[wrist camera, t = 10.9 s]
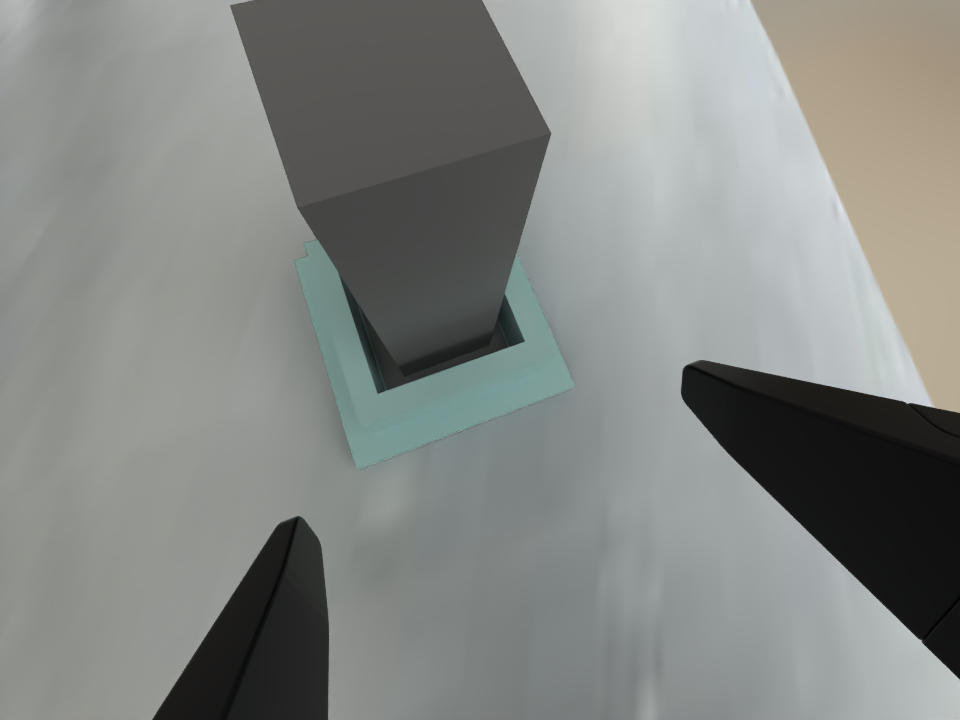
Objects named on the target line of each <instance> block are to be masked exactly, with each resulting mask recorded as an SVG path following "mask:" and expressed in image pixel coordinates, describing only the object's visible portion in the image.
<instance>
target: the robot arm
mask: <svg viewBox="0 0 960 720" xmlns="http://www.w3.org/2000/svg"><path fill="white" fill-rule="evenodd" d="M681 395H682V398H683V400H684V402H685V403H686V405H687V406H688V407H689V408H690V409H691V411H692V412H693V413H694V414H695V415H696V417H697V418H698V419H699V420H700V421H701V422H702V424H703V425H704V426H705V427H706V428H707V430H708V431H709V432H710V433H711V434H712V435H713V437H714V438H715V439H716V440H717V441H718V443H719V444H720V445H721V446H722V447H723V448H724V449H725V450H726V452H727V453H728V454H729V455H730V456H731V457H732V458H733V459H734V460H735V461H736V462H737V463H738V464H739V465H740V466H741V467H742V468H743V469H744V470H746V471H747V472H748V473H749V474H750V475H751V476H752V477H753V478H754V479H755V480H756V481H757V482H758V483H759V484H760V485H761V486H762V487H763V488H764V489H765V490H766V491H767V492H768V493H769V494H770V495H771V496H772V497H773V498H774V499H775V500H776V501H777V502H778V503H779V504H780V505H781V506H782V507H784V508H785V509H786V510H787V511H788V512H789V513H790V514H791V515H792V516H793V517H794V518H795V519H796V520H797V521H798V522H799V523H800V524H801V525H802V526H803V527H804V528H805V529H806V530H807V531H808V532H809V533H810V534H811V535H812V536H813V537H814V538H815V539H816V540H817V541H818V542H819V543H821V544H822V545H823V546H824V547H825V548H826V549H827V550H828V551H829V552H830V553H831V554H832V555H833V556H834V557H835V558H836V559H837V560H838V561H839V562H840V563H841V564H842V565H843V566H844V567H845V568H846V569H847V570H848V571H849V572H850V573H851V574H852V575H853V576H854V577H855V578H856V579H858V580H859V581H860V582H861V583H862V584H863V585H864V586H865V587H866V588H867V589H868V590H869V591H870V592H871V593H872V594H873V595H874V596H875V597H876V598H877V599H878V600H879V601H880V602H881V603H882V604H883V605H884V606H885V607H886V608H887V609H888V610H889V611H890V612H891V613H892V614H893V615H894V616H896V617H897V618H898V619H899V620H900V621H901V622H902V623H903V624H904V625H905V626H906V627H907V628H908V629H909V630H910V631H911V632H912V633H913V634H914V635H915V636H916V637H917V638H918V639H920V640H922V643H923V644H924V645H925V646H926V647H927V648H928V649H929V650H930V651H931V652H932V653H933V654H934V655H935V656H936V657H937V658H938V659H939V660H940V661H941V662H942V663H943V664H944V665H945V666H947V667H948V668H949V669H950V670H951V671H952V672H953V673H954V674H955V675H956V676H957V677H958V678H959V679H960V413H957V412H951V411H947V410H941V409H937V408H932V407H927V406H922V405H918V404H913V403H909V404H907V403H905V402H903V401H898V400H893V399H888V398H884V397H879V396H874V395H869V394H864V393H859V392H855V391H850V390H845V389H840V388H835V387H831V386H826V385H821V384H816V383H811V382H806V381H802V380H797V379H792V378H787V377H782V376H777V375H773V374H768V373H763V372H758V371H753V370H749V369H744V368H739V367H734V366H729V365H724V364H720V363H715V362H710V361H705V360H699V361H696V362H693V363H691V364H688V365H686V366H685V367H684V369H683V373H682V385H681ZM328 672H329V621H328V608H327V598H326V588H325V578H324V568H323V558H322V548H321V544H320V541H319V539H318V537H317V536H316V535H315V533H314V532H313V531H312V529H311V528H310V527H309V525H308V524H307V523H306V521H305V520H304V519H303V518H302V517H300V516H296V517H294V518H291V519H289V520H286V521H283V522H281V523H280V524H278V525H277V527H276V528H275V530H274V531H273V533H272V534H271V536H270V537H269V539H268V540H267V542H266V544H265V545H264V547H263V548H262V550H261V551H260V553H259V554H258V556H257V558H256V559H255V561H254V562H253V564H252V565H251V567H250V568H249V570H248V572H247V573H246V575H245V576H244V578H243V579H242V581H241V582H240V584H239V586H238V587H237V589H236V590H235V592H234V593H233V595H232V596H231V598H230V600H229V601H228V603H227V604H226V606H225V607H224V609H223V610H222V612H221V613H220V615H219V617H218V618H217V620H216V621H215V623H214V624H213V626H212V627H211V629H210V631H209V632H208V634H207V635H206V637H205V638H204V640H203V641H202V643H201V645H200V646H199V648H198V649H197V651H196V652H195V654H194V655H193V657H192V659H191V660H190V662H189V663H188V665H187V666H186V668H185V669H184V671H183V673H182V674H181V676H180V677H179V679H178V680H177V682H176V683H175V685H174V687H173V688H172V690H171V691H170V693H169V694H168V696H167V697H166V699H165V701H164V702H163V704H162V705H161V707H160V708H159V710H158V711H157V713H156V714H155V716H154V718H153V719H152V720H328Z"/></svg>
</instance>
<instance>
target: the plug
mask: <svg viewBox="0 0 960 720" xmlns="http://www.w3.org/2000/svg"><path fill="white" fill-rule="evenodd" d="M230 7H231V10H232V13H233V16H234V19H235V22H236V25H237V28H238V31H239V34H240V37H241V40H242V43H243V46H244V49H245V52H246V55H247V58H248V61H249V64H250V67H251V70H252V73H253V76H254V79H255V82H256V85H257V88H258V91H259V94H260V97H261V100H262V103H263V106H264V109H265V112H266V115H267V118H268V121H269V124H270V127H271V130H272V133H273V136H274V139H275V142H276V145H277V148H278V151H279V154H280V157H281V160H282V163H283V166H284V169H285V172H286V175H287V178H288V181H289V184H290V187H291V190H292V193H293V196H294V199H295V202H296V205H297V208H298V209H299V211H300V212H301V214H302V216H303V217H304V219H305V220H306V222H307V224H308V225H309V227H310V228H311V230H312V231H313V233H314V235H315V236H316V238H317V239H318V241H319V243H320V244H321V246H322V247H323V249H324V250H325V252H326V254H327V255H328V257H329V258H330V260H331V261H332V263H333V265H334V266H335V268H336V269H337V271H338V273H339V274H340V276H341V277H342V279H343V280H344V282H345V284H346V285H347V287H348V288H349V290H350V291H351V293H352V295H353V296H354V298H355V299H356V301H357V303H358V304H359V306H360V307H361V309H362V310H363V312H364V314H365V315H366V317H367V318H368V320H369V321H370V323H371V325H372V326H373V328H374V329H375V331H376V333H377V334H378V336H379V337H380V339H381V340H382V342H383V344H384V345H385V347H386V348H387V350H388V352H389V353H390V355H391V356H392V358H393V359H394V361H395V363H396V364H397V366H398V367H399V369H400V370H401V372H402V374H403V375H404V377H405V376H408V375H411V374H413V373H416V372H419V371H422V370H424V369H427V368H430V367H432V366H435V365H438V364H440V363H443V362H446V361H449V360H451V359H454V358H457V357H459V356H462V355H465V354H467V353H470V352H473V351H476V350H478V349H481V348H484V347H486V346H489V345H490V342H491V338H492V335H493V332H494V328H495V325H496V321H497V318H498V314H499V311H500V307H501V304H502V301H503V297H504V294H505V290H506V287H507V283H508V280H509V277H510V273H511V270H512V266H513V263H514V259H515V256H516V252H517V249H518V246H519V242H520V239H521V235H522V232H523V228H524V225H525V222H526V218H527V215H528V211H529V208H530V204H531V201H532V197H533V194H534V191H535V187H536V184H537V180H538V177H539V173H540V170H541V166H542V163H543V160H544V156H545V153H546V149H547V146H548V142H549V139H550V136H551V132H550V130H549V128H548V126H547V124H546V122H545V121H544V119H543V117H542V115H541V113H540V111H539V109H538V107H537V105H536V103H535V101H534V99H533V97H532V96H531V94H530V92H529V90H528V88H527V86H526V84H525V82H524V80H523V78H522V76H521V74H520V72H519V71H518V69H517V67H516V65H515V63H514V61H513V59H512V57H511V55H510V53H509V51H508V49H507V48H506V46H505V44H504V42H503V40H502V38H501V36H500V34H499V32H498V30H497V28H496V26H495V24H494V23H493V21H492V19H491V17H490V15H489V13H488V11H487V9H486V7H485V5H484V3H483V1H482V0H253V1H249V2H244V3H239V4H234V5H230Z"/></svg>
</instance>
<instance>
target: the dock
mask: <svg viewBox="0 0 960 720" xmlns="http://www.w3.org/2000/svg"><path fill="white" fill-rule="evenodd" d="M304 246H305V249H306V253H307V257H304V258H300V259H297V260H294V263H295V266H296V269H297V273H298V276H299V279H300V283H301V286H302V290H303V293H304V296H305V300H306V303H307V306H308V310H309V313H310V316H311V320H312V323H313V326H314V330H315V333H316V336H317V340H318V343H319V346H320V350H321V353H322V356H323V360H324V363H325V366H326V370H327V373H328V376H329V380H330V383H331V386H332V390H333V393H334V397H335V400H336V403H337V407H338V410H339V413H340V417H341V420H342V423H343V427H344V430H345V433H346V437H347V440H348V443H349V447H350V450H351V453H352V457H353V460H354V463H355V467H356V470H358V469H363V468H366V467H369V466H371V465H374V464H376V463H379V462H382V461H384V460H387V459H390V458H392V457H395V456H397V455H400V454H403V453H405V452H408V451H411V450H413V449H416V448H418V447H421V446H424V445H426V444H429V443H432V442H434V441H437V440H439V439H442V438H445V437H447V436H450V435H453V434H455V433H458V432H460V431H463V430H466V429H468V428H471V427H474V426H476V425H479V424H481V423H484V422H487V421H489V420H492V419H495V418H497V417H500V416H502V415H505V414H508V413H510V412H513V411H516V410H518V409H521V408H523V407H526V406H529V405H531V404H534V403H537V402H539V401H542V400H544V399H547V398H550V397H552V396H555V395H558V394H560V393H563V392H565V391H568V390H570V389H572V388H574V387H575V384H574V382H573V379H572V377H571V375H570V373H569V370H568V368H567V366H566V363H565V361H564V359H563V357H562V354H561V352H560V350H559V348H558V345H557V343H556V341H555V338H554V336H553V334H552V332H551V329H550V327H549V325H548V323H547V320H546V318H545V316H544V313H543V311H542V309H541V307H540V304H539V302H538V300H537V298H536V295H535V293H534V291H533V288H532V286H531V284H530V282H529V279H528V277H527V275H526V273H525V270H524V268H523V266H522V263H521V261H520V259H519V257H518V254H517V252H516V256H515V259H514V263H513V266H512V270H511V273H510V277H509V280H508V283H507V287H506V290H505V294H504V297H503V301H502V304H501V307H500V311H499V314H498V318H497V321H496V325H495V328H494V332H493V335H492V338H491V342H490V345H489V346H486V347H484V348H481V349H478V350H476V351H473V352H470V353H467V354H465V355H462V356H459V357H457V358H454V359H451V360H449V361H446V362H443V363H440V364H438V365H435V366H432V367H430V368H427V369H424V370H422V371H419V372H416V373H413V374H411V375H408V376H405V377H404V375H403V374H402V372H401V370H400V369H399V367H398V366H397V364H396V363H395V361H394V359H393V358H392V356H391V355H390V353H389V352H388V350H387V348H386V347H385V345H384V344H383V342H382V340H381V339H380V337H379V336H378V334H377V333H376V331H375V329H374V328H373V326H372V325H371V323H370V321H369V320H368V318H367V317H366V315H365V314H364V312H363V310H362V309H361V307H360V306H359V304H358V303H357V301H356V299H355V298H354V296H353V295H352V293H351V291H350V290H349V288H348V287H347V285H346V284H345V282H344V280H343V279H342V277H341V276H340V274H339V273H338V271H337V269H336V268H335V266H334V265H333V263H332V261H331V260H330V258H329V257H328V255H327V254H326V252H325V250H324V249H323V247H322V246H321V244H320V243H319V241H318V239H317V240H313V241H310V242H306V243H304Z"/></svg>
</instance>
